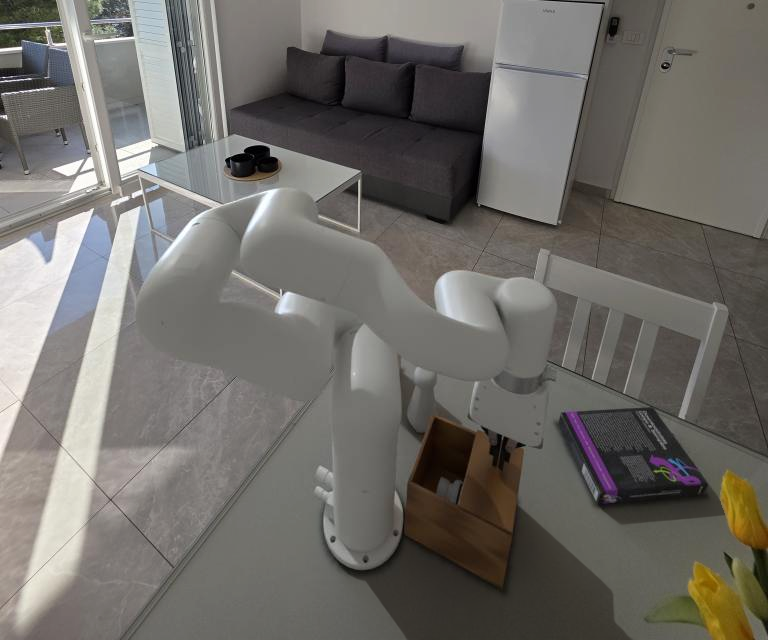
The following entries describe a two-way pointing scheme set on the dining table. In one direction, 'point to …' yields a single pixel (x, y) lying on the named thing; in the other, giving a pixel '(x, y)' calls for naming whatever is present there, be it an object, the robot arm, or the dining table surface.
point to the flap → (491, 484)
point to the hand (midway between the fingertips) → (498, 458)
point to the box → (629, 455)
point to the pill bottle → (450, 490)
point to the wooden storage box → (452, 505)
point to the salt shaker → (422, 400)
